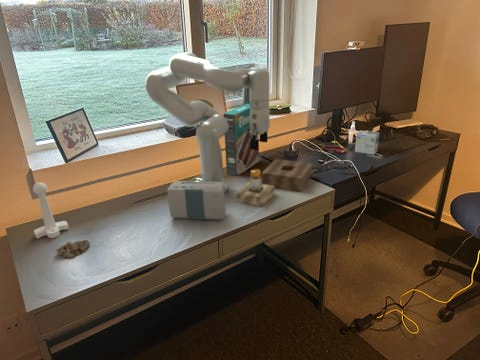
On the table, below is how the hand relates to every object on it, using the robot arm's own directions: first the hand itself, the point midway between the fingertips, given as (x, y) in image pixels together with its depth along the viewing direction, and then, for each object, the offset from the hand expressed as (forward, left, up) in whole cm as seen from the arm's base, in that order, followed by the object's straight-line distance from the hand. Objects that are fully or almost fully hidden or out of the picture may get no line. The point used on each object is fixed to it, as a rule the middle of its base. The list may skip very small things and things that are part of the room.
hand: (259, 145), depth 150 cm
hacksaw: (+18, +44, -23) cm, 53 cm away
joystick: (-60, -55, -23) cm, 85 cm away
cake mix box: (-20, +27, -23) cm, 41 cm away
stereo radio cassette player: (-16, -24, -23) cm, 37 cm away
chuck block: (+6, +19, -23) cm, 30 cm away
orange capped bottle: (-1, -2, -21) cm, 21 cm away
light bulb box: (+34, +71, -23) cm, 82 cm away
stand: (-1, -2, -23) cm, 23 cm away
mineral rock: (-43, -61, -23) cm, 78 cm away
